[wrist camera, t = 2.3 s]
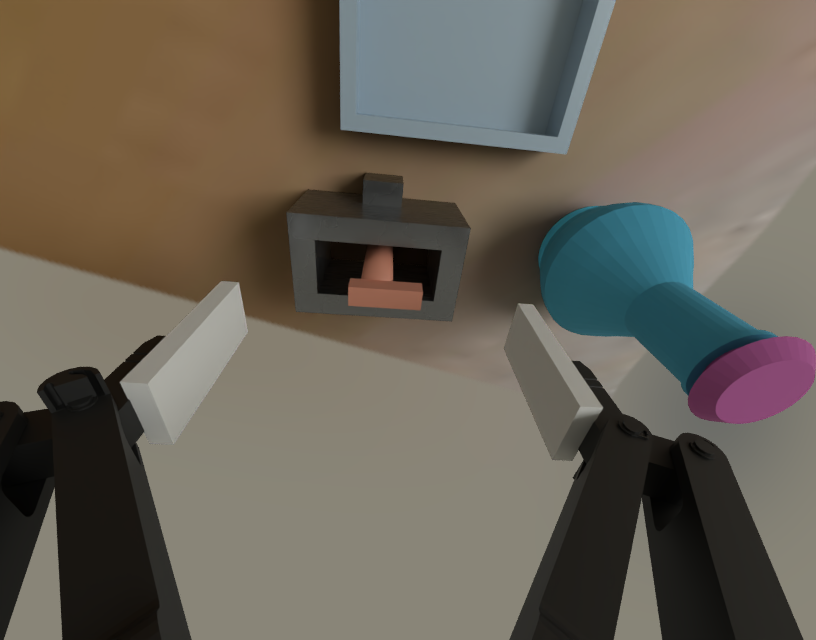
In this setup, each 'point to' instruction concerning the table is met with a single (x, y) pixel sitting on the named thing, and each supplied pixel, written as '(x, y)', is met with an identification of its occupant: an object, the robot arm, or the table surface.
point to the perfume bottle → (667, 310)
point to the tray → (469, 69)
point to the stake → (382, 284)
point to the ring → (376, 225)
